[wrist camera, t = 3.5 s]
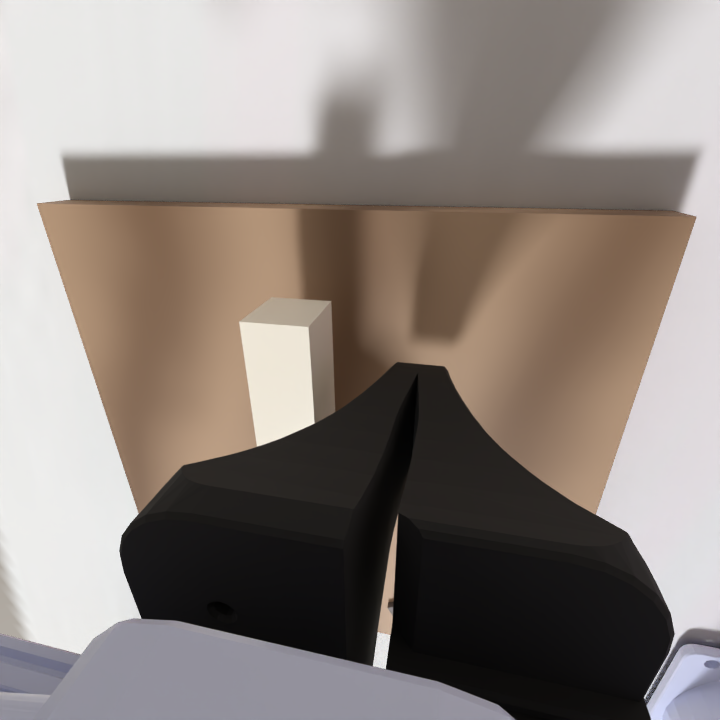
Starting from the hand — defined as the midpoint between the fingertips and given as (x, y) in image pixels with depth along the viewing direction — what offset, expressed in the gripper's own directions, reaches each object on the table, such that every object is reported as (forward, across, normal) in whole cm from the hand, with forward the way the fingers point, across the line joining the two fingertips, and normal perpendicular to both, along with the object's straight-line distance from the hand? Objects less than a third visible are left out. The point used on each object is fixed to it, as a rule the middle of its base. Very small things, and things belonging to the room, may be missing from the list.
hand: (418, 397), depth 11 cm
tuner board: (+3, +3, +4) cm, 6 cm away
